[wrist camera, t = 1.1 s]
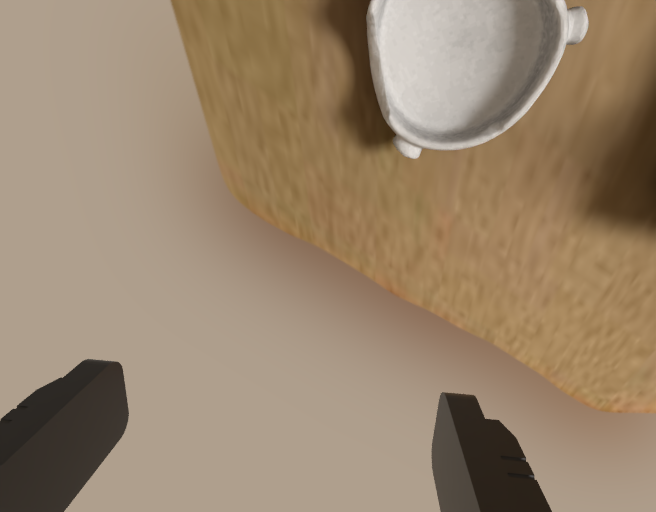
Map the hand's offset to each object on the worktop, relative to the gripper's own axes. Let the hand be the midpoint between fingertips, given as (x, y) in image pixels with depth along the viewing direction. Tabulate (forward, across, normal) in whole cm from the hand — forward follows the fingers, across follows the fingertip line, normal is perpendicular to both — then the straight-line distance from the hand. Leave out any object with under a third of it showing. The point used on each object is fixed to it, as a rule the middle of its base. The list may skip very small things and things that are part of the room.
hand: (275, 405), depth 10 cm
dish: (+27, -8, -13) cm, 31 cm away
